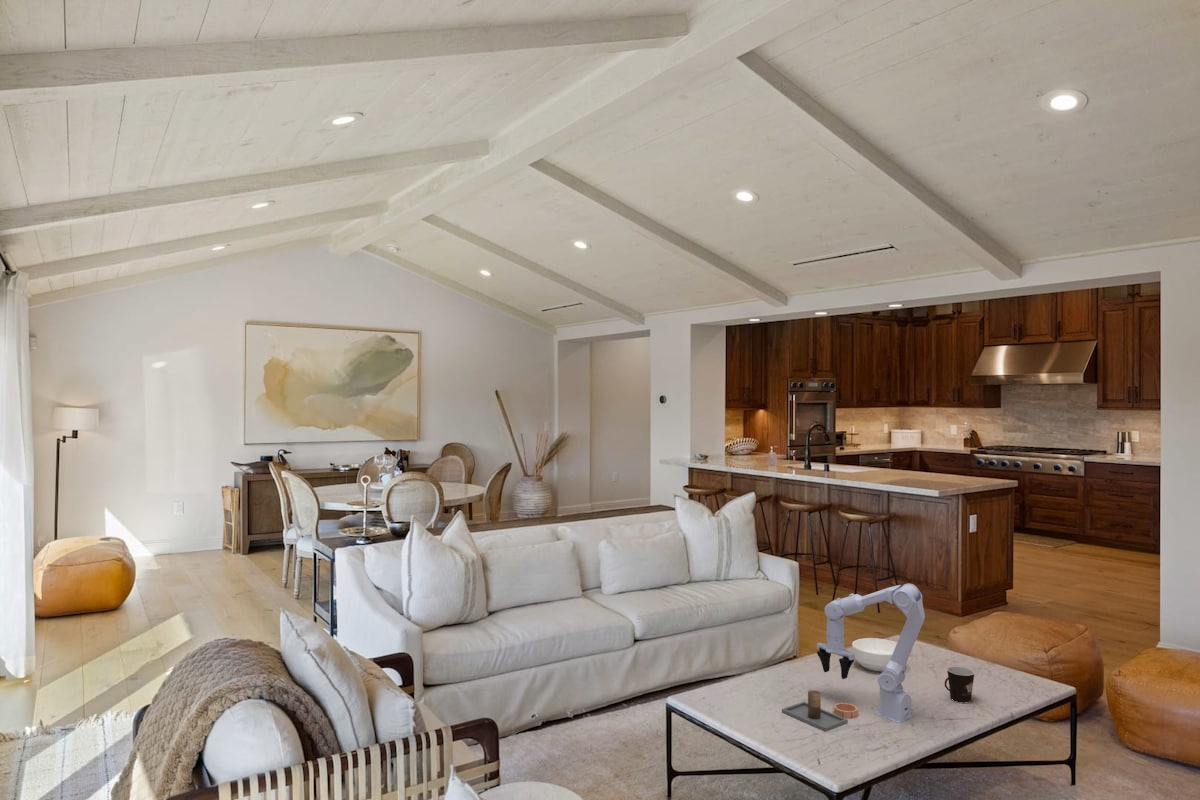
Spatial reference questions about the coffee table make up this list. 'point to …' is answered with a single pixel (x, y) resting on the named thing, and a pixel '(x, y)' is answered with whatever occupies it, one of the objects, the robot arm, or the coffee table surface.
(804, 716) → the charcoal tray
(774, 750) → the coffee table surface
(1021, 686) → the coffee table surface
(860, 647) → the bowl
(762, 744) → the coffee table surface
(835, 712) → the terracotta cup
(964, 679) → the coffee mug
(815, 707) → the walnut peg
